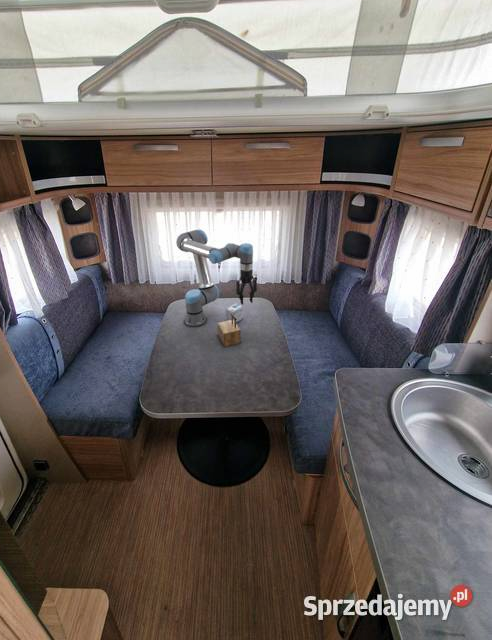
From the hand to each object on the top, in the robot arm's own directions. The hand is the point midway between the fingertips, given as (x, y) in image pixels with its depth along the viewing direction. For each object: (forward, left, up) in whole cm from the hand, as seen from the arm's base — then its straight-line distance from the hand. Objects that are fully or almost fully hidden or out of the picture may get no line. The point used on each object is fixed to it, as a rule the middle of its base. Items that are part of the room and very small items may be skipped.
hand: (246, 302), depth 181 cm
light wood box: (0, -12, -25) cm, 28 cm away
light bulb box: (-20, -1, -25) cm, 32 cm away
